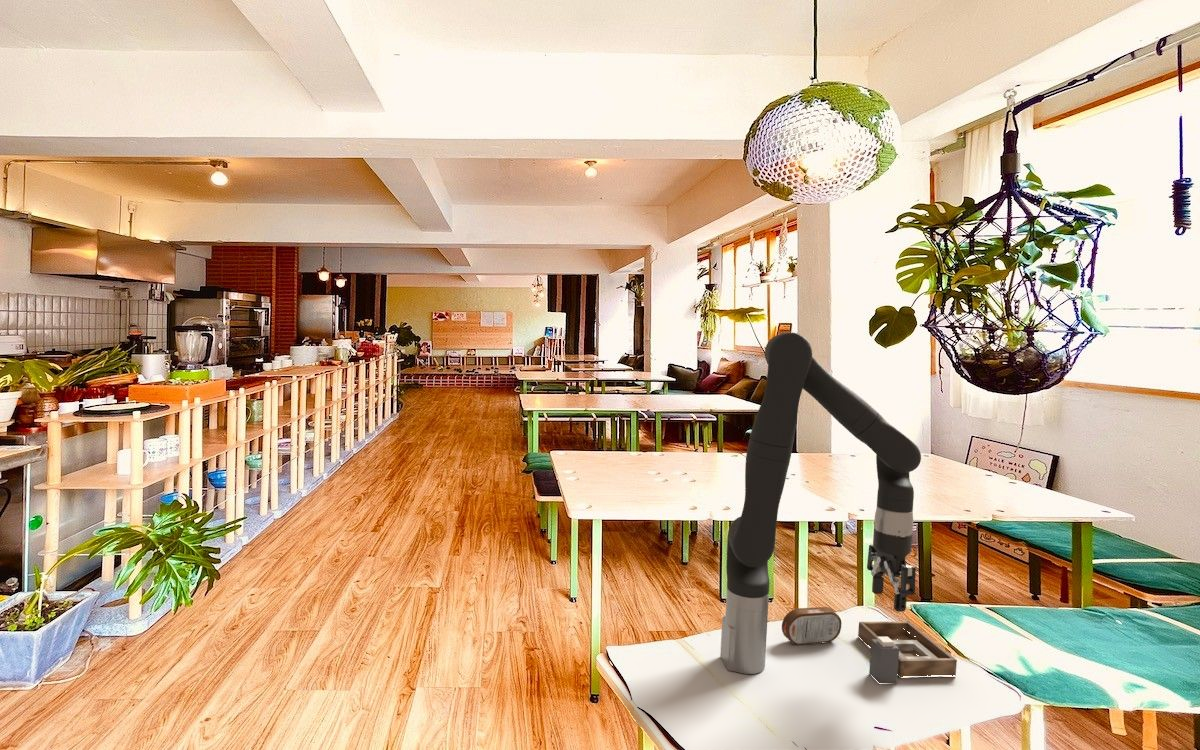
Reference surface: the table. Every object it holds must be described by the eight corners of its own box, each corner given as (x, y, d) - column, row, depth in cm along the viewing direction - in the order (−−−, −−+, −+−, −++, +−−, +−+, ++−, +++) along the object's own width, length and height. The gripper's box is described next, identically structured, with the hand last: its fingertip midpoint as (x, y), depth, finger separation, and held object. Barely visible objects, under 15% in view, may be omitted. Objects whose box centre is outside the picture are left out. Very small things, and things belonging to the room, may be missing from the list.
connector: (879, 684, 131) (881, 644, 130) (869, 674, 135) (871, 634, 134) (896, 684, 131) (899, 643, 131) (886, 673, 135) (889, 634, 135)
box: (900, 678, 134) (901, 660, 133) (857, 637, 152) (859, 621, 151) (955, 677, 135) (956, 660, 135) (907, 636, 153) (908, 621, 152)
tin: (835, 637, 151) (837, 604, 151) (842, 643, 148) (844, 610, 148) (779, 641, 148) (781, 608, 148) (786, 648, 145) (788, 614, 145)
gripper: (859, 518, 138) (854, 588, 139) (895, 540, 124) (890, 617, 125) (890, 518, 138) (886, 587, 140) (930, 540, 124) (924, 616, 125)
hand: (888, 601), depth 132 cm, fingers open, 8 cm apart
